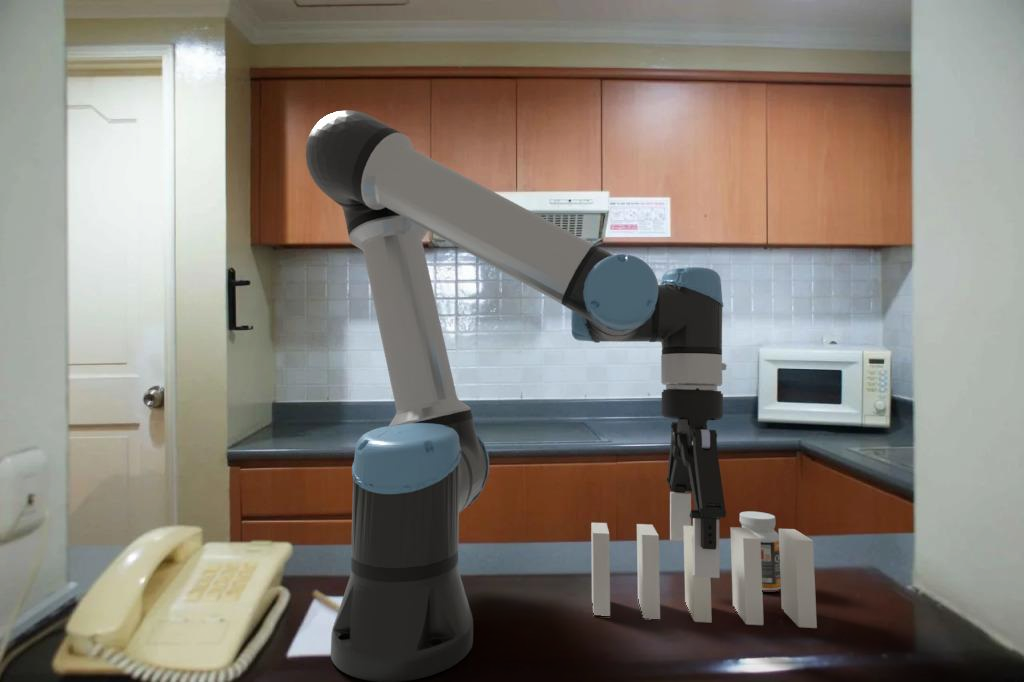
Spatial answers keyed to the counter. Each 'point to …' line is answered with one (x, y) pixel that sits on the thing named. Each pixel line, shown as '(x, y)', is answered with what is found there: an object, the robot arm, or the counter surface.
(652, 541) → the domino
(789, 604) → the domino
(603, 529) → the domino
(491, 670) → the counter surface
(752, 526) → the pill bottle
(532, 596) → the counter surface
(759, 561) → the domino
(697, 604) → the domino
